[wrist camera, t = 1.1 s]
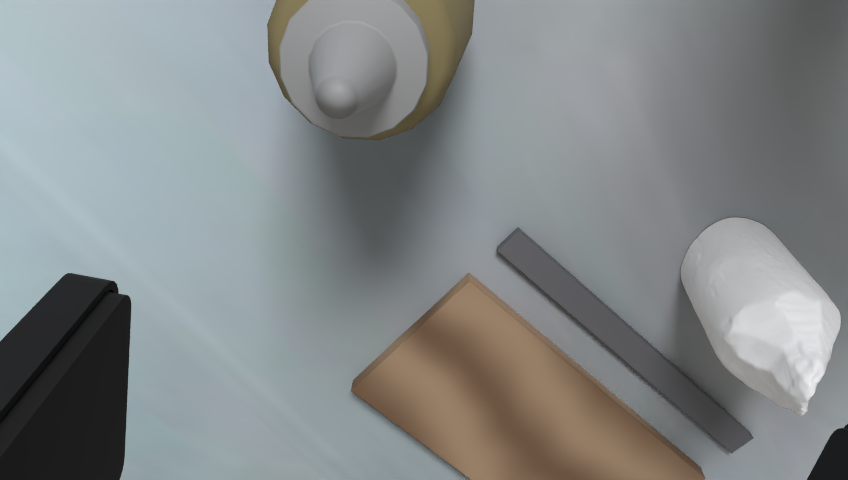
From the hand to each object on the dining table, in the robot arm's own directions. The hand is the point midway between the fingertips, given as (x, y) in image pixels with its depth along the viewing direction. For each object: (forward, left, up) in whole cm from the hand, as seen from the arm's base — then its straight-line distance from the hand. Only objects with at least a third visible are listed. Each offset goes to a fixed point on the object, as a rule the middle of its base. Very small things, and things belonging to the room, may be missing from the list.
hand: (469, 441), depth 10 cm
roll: (-1, +20, -30) cm, 36 cm away
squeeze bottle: (+1, -3, -30) cm, 30 cm away
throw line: (+6, +20, -30) cm, 36 cm away
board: (+14, +20, -30) cm, 38 cm away
